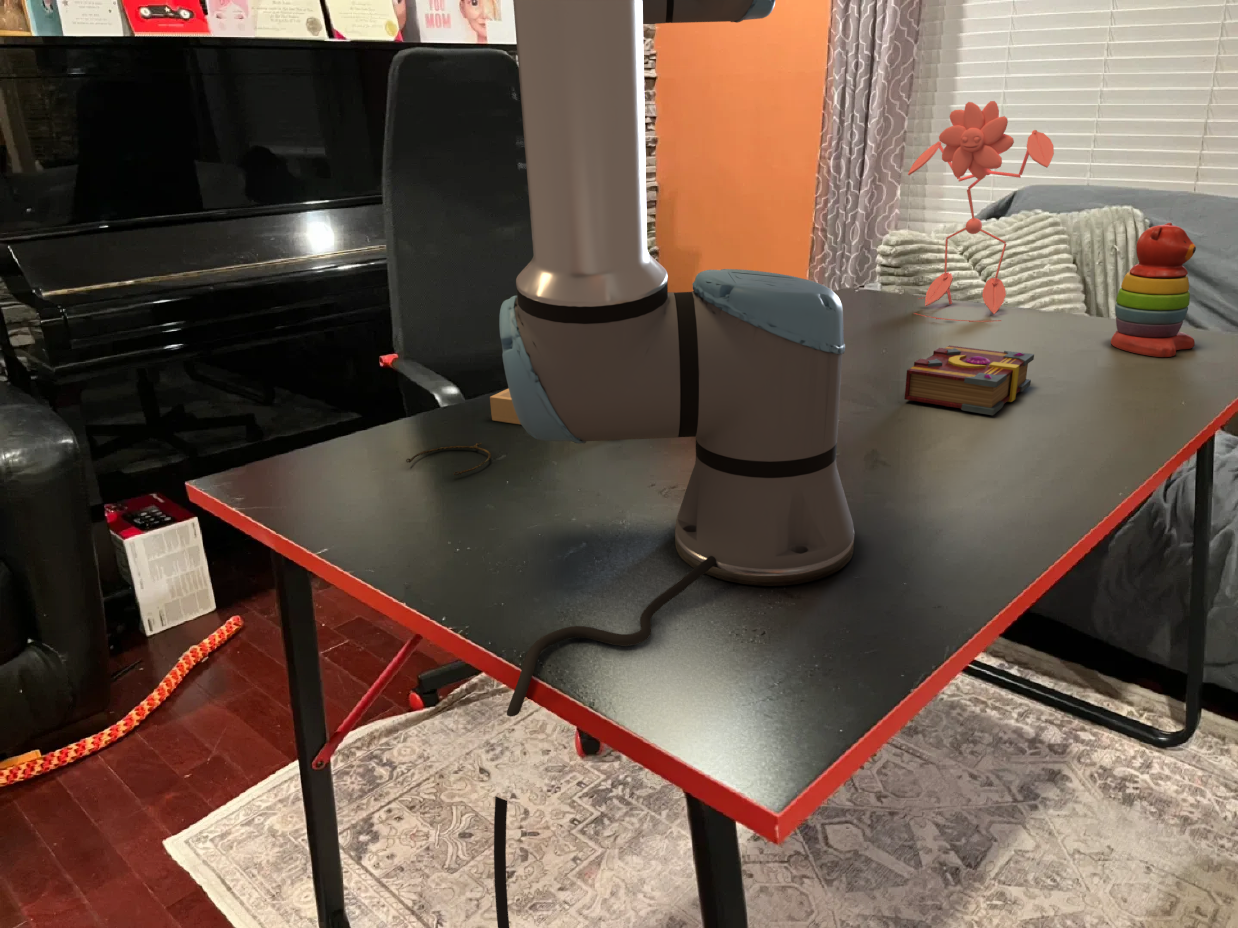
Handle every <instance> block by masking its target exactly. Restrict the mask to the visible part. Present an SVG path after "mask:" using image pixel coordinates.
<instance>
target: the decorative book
mask: <svg viewBox="0 0 1238 928" xmlns="http://www.w3.org/2000/svg"><path fill="white" fill-rule="evenodd" d="M932 353H933V354H932V355H930V356H929V357H927V358H919V359H917V360H915V361H914V362H913V366H912V367H909V368H908V369H907V370H906V376H905V378H906V379H905V380H906V381H905V389H904V400H908V401H912V402H913V401H914V402H919V403H925V404H933V405H939V406H945V407H951V408H955V409H956V408H957V409H960V410H961V411H964V412H970V413H976V414H981V415H982V414H983V415H988V416H994V415H995V414H997V412H999V411H1000V410H1001V409H1002V408H1003V407H1004V405H1005V404H1006V403H1007V402H1008V403H1012V402H1013V401H1015V400H1016V398H1017V397H1016V396H1017V394H1018V393H1022V392H1023V391H1025V390H1026V389H1027V388H1029V387H1030V386H1031V383H1032V379H1027V374H1028V367H1029V364H1030V363H1031V362H1032V361H1034V360H1035V353H1028V352H1019V351H1012V350H1011V351H1010V350H1003V351H997V350H989V349H982V348H974V347H965V346H959V345H958V346H957V345H948V346H946V347H938V348H935V349H934V350H933V352H932Z"/></svg>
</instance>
